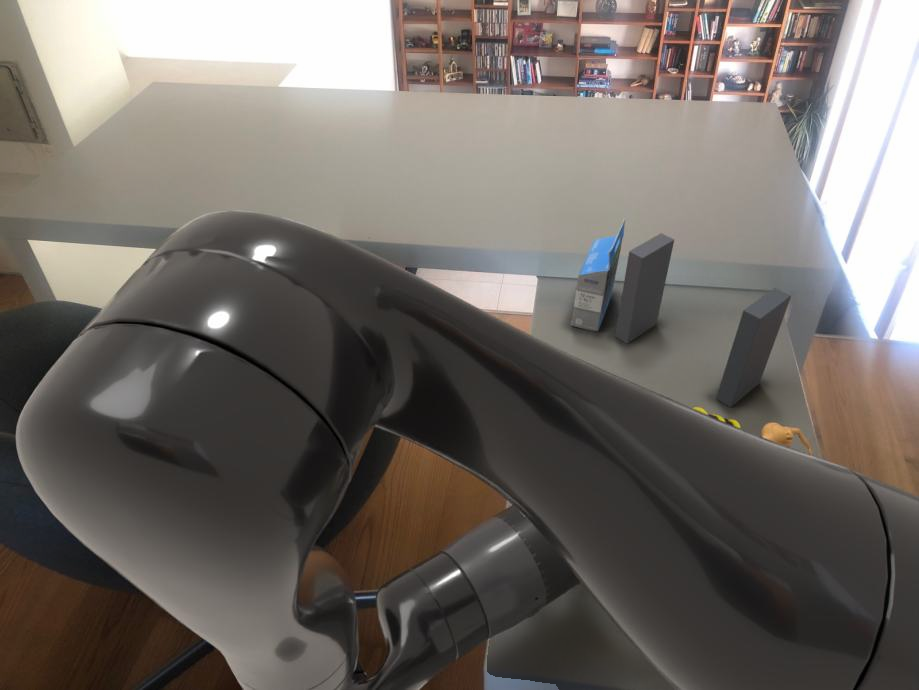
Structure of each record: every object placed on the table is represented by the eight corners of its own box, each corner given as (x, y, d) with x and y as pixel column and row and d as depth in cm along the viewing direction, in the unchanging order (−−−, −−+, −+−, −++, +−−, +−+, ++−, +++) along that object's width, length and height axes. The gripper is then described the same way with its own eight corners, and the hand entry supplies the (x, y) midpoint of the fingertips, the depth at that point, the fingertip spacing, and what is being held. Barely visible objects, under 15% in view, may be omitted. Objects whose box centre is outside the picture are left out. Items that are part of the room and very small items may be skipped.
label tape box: (585, 289, 97) (595, 211, 89) (614, 295, 96) (627, 217, 88) (569, 326, 91) (578, 247, 83) (600, 333, 90) (612, 253, 82)
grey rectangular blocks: (759, 383, 82) (791, 295, 74) (730, 407, 79) (760, 318, 71) (644, 317, 92) (660, 232, 84) (614, 336, 89) (629, 251, 81)
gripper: (578, 613, 45) (745, 499, 52) (459, 470, 54) (613, 389, 61) (569, 665, 50) (722, 555, 57) (461, 526, 59) (603, 445, 66)
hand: (665, 469), depth 59 cm, fingers open, 8 cm apart
